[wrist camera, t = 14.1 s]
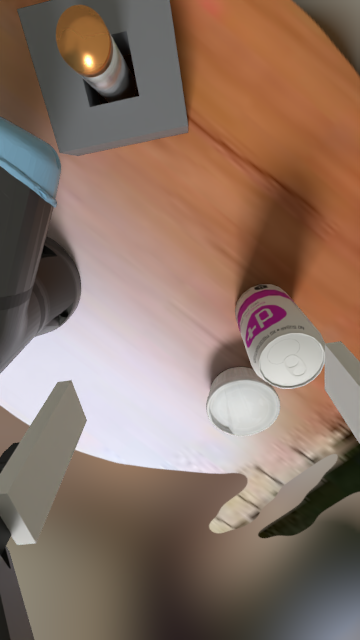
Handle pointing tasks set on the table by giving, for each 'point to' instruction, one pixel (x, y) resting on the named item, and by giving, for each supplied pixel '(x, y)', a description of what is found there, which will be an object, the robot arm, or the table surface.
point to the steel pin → (94, 53)
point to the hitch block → (83, 100)
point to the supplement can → (279, 337)
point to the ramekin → (242, 402)
